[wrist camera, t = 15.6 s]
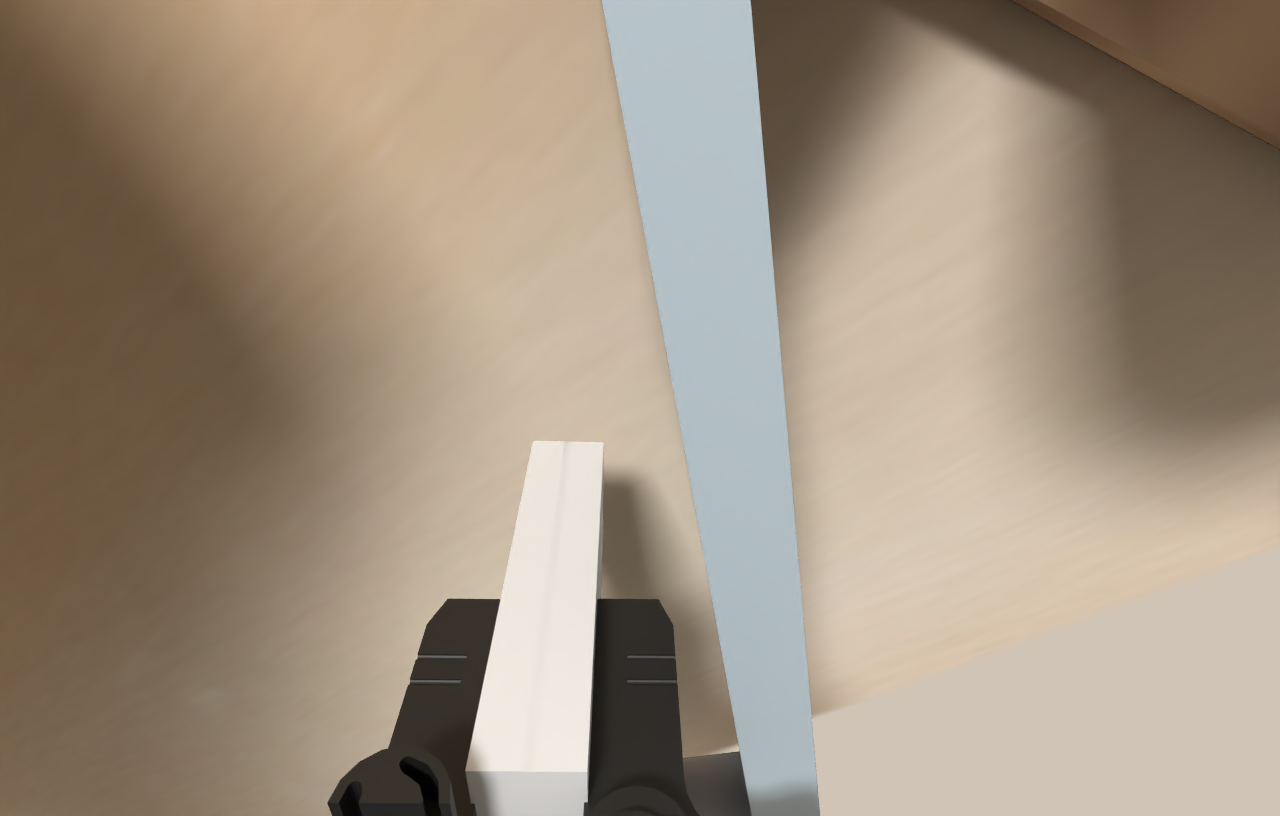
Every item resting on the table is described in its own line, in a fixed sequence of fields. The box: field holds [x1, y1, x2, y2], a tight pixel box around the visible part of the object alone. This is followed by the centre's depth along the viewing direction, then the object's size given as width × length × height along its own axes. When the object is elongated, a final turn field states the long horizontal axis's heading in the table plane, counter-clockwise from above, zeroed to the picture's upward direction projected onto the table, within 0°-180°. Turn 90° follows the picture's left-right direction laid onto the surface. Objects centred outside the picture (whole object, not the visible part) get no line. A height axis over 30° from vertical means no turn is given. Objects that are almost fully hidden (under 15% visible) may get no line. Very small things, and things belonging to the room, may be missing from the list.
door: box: [602, 0, 820, 816], centre depth 12 cm, size 15×2×8 cm, turn 11°
